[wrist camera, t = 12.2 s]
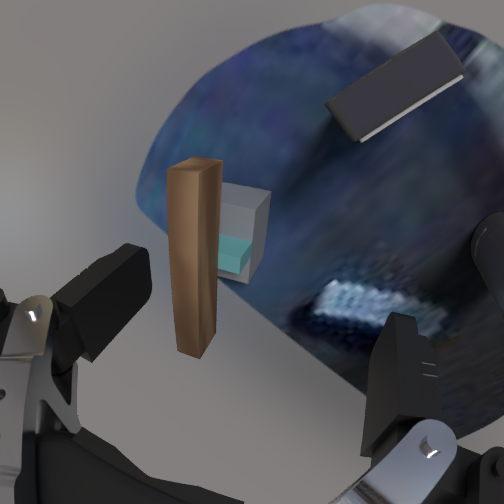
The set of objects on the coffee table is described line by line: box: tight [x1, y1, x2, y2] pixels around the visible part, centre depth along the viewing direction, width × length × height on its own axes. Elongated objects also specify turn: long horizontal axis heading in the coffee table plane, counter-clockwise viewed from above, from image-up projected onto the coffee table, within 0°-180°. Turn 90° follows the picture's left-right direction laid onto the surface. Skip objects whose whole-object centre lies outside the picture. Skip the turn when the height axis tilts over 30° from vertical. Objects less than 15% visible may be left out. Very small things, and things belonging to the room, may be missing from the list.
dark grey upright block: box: [325, 31, 466, 143], centre depth 23 cm, size 11×4×15 cm, turn 131°
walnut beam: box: [167, 156, 223, 359], centre depth 32 cm, size 3×22×5 cm, turn 175°
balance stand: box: [218, 182, 271, 284], centre depth 38 cm, size 8×10×11 cm
